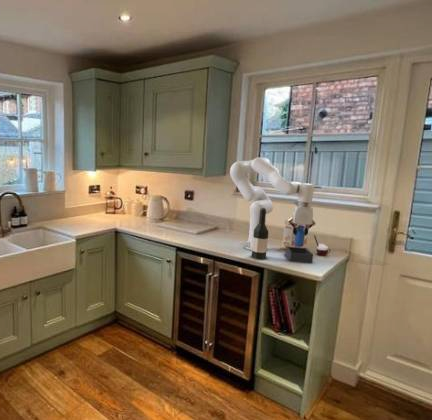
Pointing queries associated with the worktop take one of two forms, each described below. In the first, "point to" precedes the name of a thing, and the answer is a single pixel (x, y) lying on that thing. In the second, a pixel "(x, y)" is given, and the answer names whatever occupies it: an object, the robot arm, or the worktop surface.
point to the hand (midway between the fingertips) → (300, 234)
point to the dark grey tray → (299, 254)
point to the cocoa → (321, 248)
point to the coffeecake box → (291, 235)
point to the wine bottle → (260, 238)
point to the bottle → (299, 236)
